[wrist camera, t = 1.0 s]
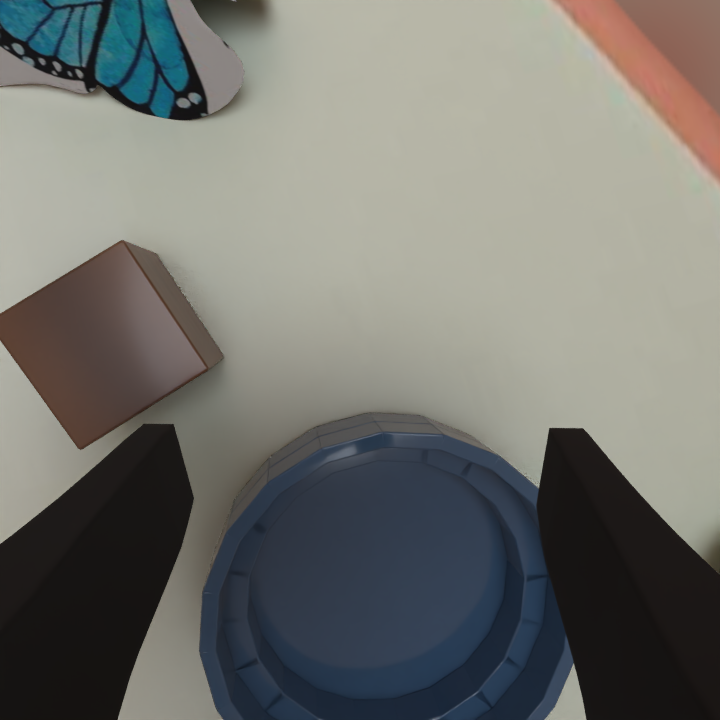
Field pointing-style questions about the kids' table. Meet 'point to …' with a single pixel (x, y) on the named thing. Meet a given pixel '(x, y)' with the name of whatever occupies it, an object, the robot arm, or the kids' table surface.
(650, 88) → the kids' table surface
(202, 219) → the kids' table surface
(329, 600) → the bowl
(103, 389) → the block
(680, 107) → the kids' table surface
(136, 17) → the decorative butterfly
